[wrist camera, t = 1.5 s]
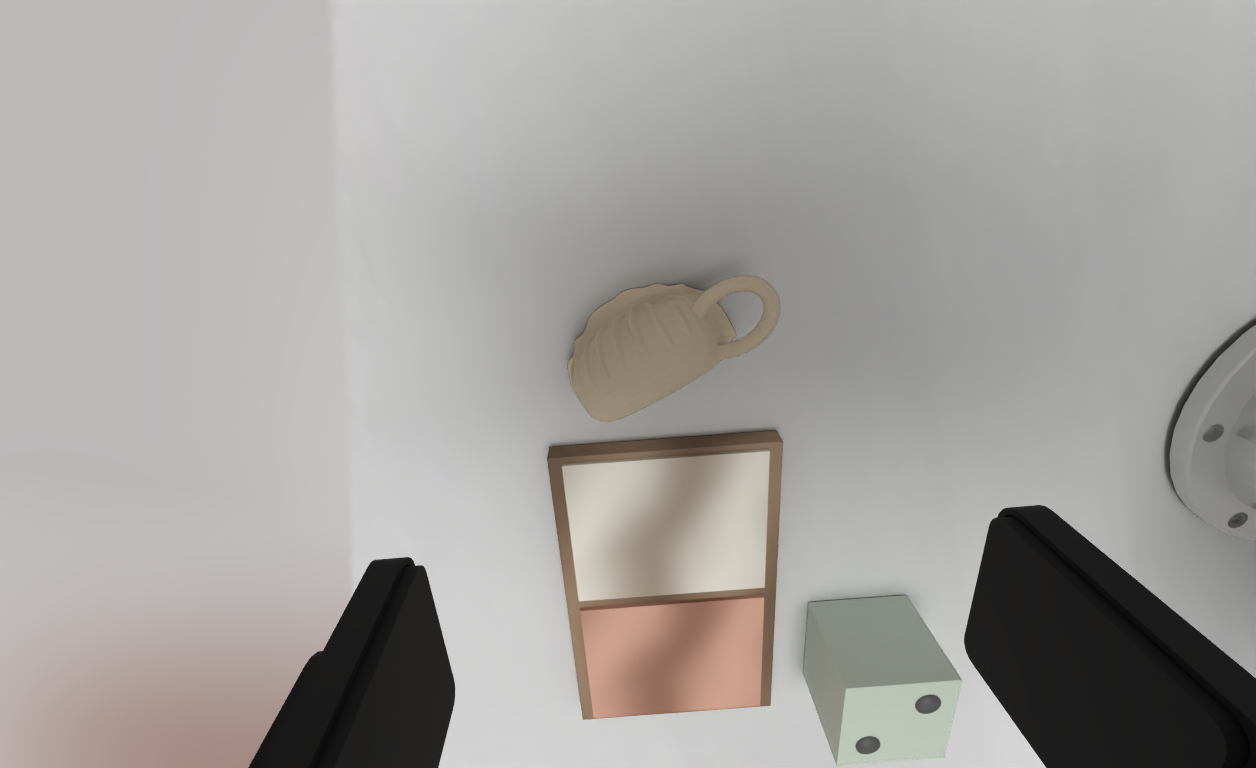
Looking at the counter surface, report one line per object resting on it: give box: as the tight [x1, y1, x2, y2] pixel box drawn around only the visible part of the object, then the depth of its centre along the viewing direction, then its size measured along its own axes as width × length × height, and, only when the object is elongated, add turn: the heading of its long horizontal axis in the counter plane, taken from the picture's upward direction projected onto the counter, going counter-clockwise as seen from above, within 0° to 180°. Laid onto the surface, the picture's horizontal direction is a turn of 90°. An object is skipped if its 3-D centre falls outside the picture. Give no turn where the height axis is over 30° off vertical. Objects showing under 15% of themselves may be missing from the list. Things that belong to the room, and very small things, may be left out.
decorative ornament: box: [568, 275, 780, 422], centre depth 21 cm, size 4×8×5 cm, turn 119°
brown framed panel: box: [547, 431, 783, 720], centre depth 28 cm, size 10×16×1 cm, turn 4°
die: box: [803, 595, 962, 765], centre depth 28 cm, size 5×5×5 cm
